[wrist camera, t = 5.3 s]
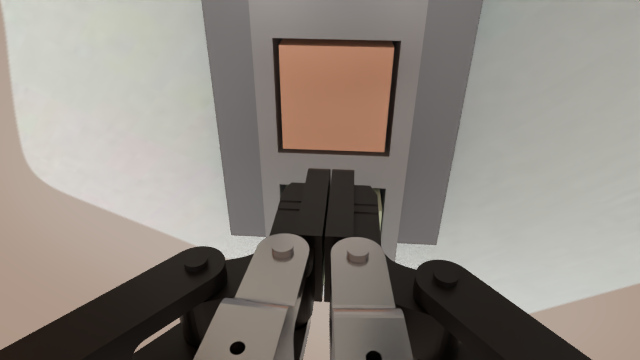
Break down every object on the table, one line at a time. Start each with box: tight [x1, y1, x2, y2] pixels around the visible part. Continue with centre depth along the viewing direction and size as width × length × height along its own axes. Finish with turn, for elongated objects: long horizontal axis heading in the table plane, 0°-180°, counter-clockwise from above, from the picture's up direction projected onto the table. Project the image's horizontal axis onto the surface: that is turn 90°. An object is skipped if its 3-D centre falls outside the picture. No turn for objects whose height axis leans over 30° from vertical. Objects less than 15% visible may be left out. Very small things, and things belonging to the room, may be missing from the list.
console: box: [201, 0, 483, 262], centre depth 23 cm, size 15×24×6 cm, turn 0°
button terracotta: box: [279, 38, 394, 152], centre depth 22 cm, size 5×5×3 cm
